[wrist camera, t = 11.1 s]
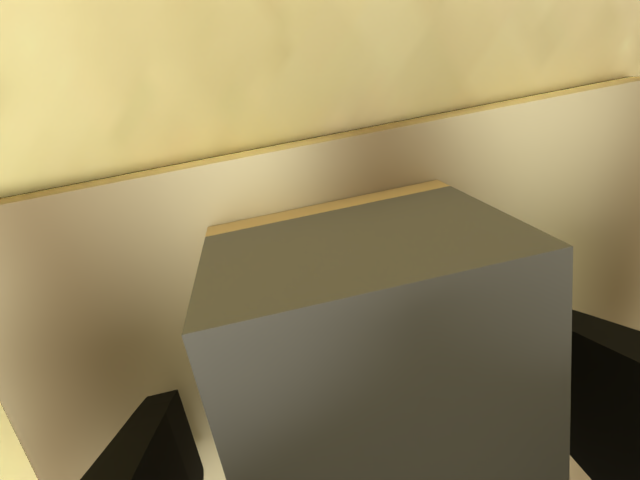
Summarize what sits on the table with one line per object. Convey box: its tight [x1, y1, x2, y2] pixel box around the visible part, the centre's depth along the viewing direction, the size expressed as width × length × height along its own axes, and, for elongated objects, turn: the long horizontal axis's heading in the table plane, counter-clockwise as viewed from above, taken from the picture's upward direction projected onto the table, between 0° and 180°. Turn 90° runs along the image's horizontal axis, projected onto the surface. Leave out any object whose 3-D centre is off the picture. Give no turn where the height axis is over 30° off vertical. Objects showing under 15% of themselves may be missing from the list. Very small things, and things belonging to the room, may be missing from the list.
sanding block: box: [181, 180, 573, 480], centre depth 8 cm, size 4×8×4 cm, turn 9°
